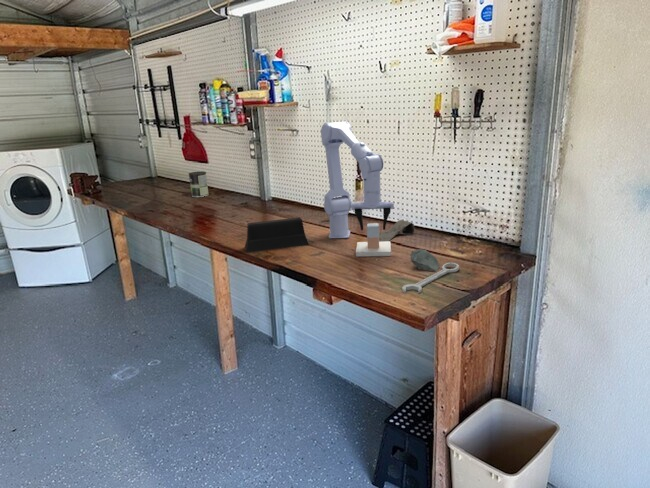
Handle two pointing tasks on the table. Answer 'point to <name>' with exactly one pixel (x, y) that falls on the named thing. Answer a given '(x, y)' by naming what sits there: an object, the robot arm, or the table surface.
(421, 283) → the wrench
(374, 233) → the grey blue block
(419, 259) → the stone
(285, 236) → the barrier
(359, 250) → the base board
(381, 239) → the axe head
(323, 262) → the table surface
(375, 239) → the terracotta block
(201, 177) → the coffee can
